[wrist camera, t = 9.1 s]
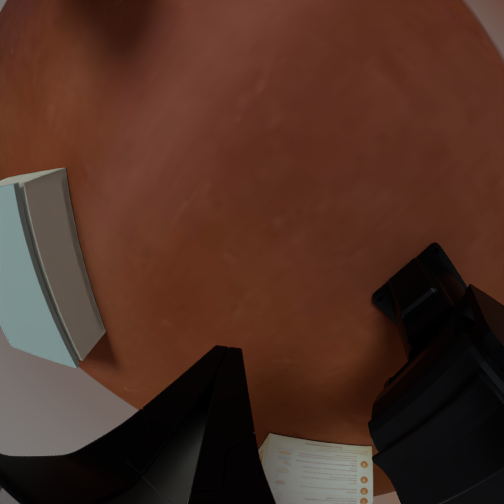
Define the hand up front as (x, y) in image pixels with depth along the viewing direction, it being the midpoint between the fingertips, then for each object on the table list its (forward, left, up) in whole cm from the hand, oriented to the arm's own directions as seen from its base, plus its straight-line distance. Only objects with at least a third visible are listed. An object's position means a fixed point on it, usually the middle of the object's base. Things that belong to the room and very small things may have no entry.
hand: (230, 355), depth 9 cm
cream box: (+15, +19, -12) cm, 27 cm away
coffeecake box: (-26, +20, -12) cm, 35 cm away
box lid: (+15, +19, -6) cm, 25 cm away
